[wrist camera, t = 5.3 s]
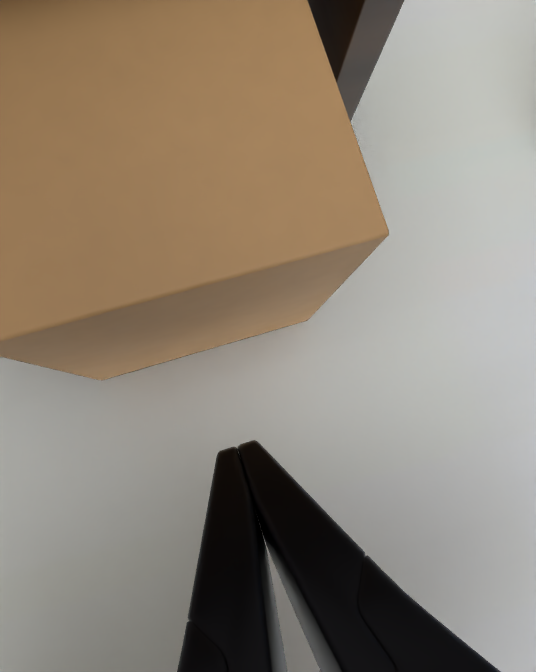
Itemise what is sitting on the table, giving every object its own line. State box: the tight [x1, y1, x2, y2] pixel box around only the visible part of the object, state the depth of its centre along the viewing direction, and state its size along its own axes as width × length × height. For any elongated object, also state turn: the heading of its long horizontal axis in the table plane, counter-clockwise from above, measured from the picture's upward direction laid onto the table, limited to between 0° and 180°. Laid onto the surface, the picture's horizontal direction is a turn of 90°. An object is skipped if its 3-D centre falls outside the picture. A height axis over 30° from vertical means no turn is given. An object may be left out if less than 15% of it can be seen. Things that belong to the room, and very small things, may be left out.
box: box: [0, 0, 389, 380], centre depth 14 cm, size 10×8×9 cm
